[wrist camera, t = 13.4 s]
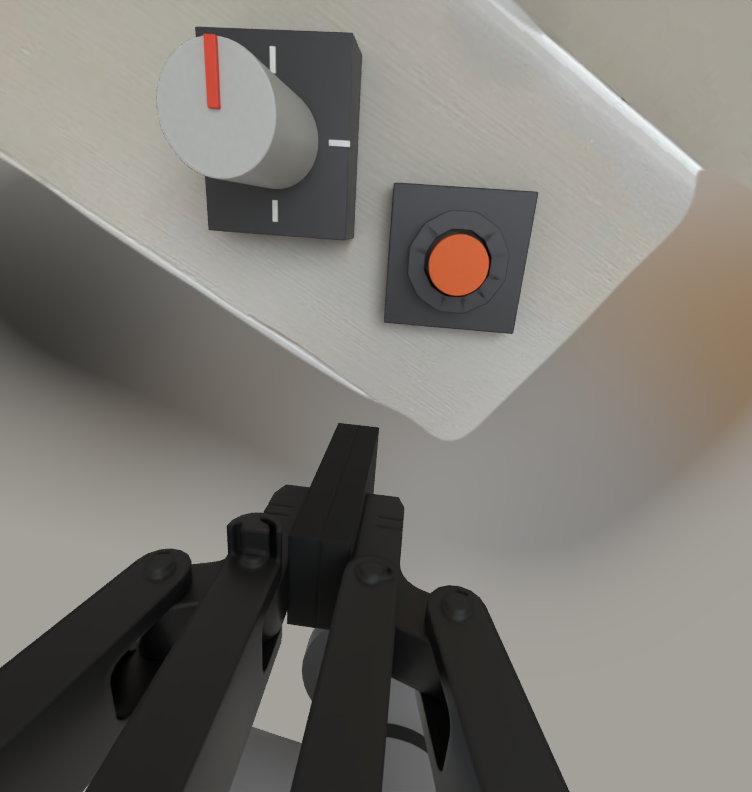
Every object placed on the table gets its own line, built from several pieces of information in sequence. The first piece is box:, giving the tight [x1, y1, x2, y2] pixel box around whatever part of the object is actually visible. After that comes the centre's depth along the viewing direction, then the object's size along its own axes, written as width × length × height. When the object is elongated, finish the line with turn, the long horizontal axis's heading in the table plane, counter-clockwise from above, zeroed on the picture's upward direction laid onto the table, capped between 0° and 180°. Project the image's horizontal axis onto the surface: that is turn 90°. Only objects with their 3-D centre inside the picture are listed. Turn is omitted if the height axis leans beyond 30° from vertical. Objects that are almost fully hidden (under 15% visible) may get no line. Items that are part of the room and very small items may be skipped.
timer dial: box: [156, 34, 318, 189], centre depth 26 cm, size 6×6×9 cm
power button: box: [429, 233, 489, 296], centre depth 32 cm, size 4×4×2 cm
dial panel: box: [195, 27, 362, 240], centre depth 32 cm, size 12×10×4 cm
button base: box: [384, 183, 538, 334], centre depth 34 cm, size 10×10×4 cm
